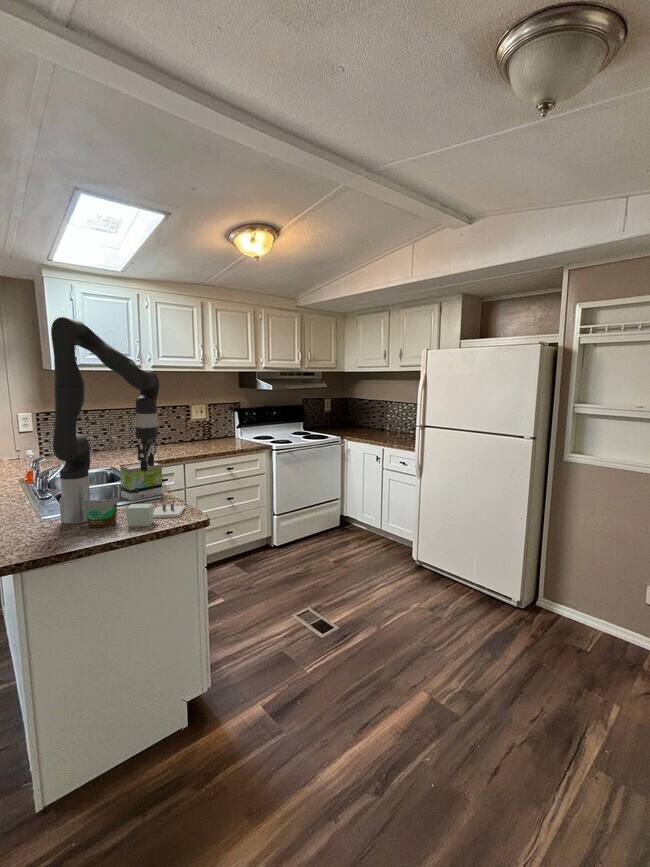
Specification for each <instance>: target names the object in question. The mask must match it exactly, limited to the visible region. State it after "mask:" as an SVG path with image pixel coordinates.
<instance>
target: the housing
mask: <svg viewBox="0 0 650 867" xmlns="http://www.w3.org/2000/svg"><path fill="white" fill-rule="evenodd" d="M125 510H126V523H127V524H126V525H127V527H129V528H130V527H131V528H132V527H149V526H150V527H151V525H153V523H154V522H155V518H154V512H153V511H154V503H131V504H130V505H129V506H127V507H126V509H125Z"/></svg>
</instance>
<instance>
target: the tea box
mask: <svg viewBox="0 0 650 867" xmlns="http://www.w3.org/2000/svg"><path fill="white" fill-rule="evenodd" d="M147 463H148V461H147ZM162 465H163V464H161V463H157V462H154V466H148V470H147V471H141V462H140V463H134V464H127V465H122V466H120V467H119V468H120V493H121V494H120V495H121V498H123V499H125V500H128V501H130V500H134V501H137V500H141V499H147V498H151V497H155V496H154V495H156V496H161V494H162V495H163V466H162ZM146 497H147V498H146Z"/></svg>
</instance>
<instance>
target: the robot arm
mask: <svg viewBox="0 0 650 867" xmlns="http://www.w3.org/2000/svg"><path fill="white" fill-rule="evenodd" d="M50 332H51V333H50V334H51V335H50V336H51V343H52V350H53V362H54V402H55V403H54V404H55V405H54V407H55V408H54V409H55V410H54V415H55V416H54V429H53V430H54V431H53V440H52V450H53V454H54V456H55V457H56V458H57V459H58V460H59V461H62V462H65V463H64V465H63V466H62V468H61V469H60V470H59V481H60V493H61V494H60V496H61V497H60V498H59V499H58V502H59V512H60V513H59V514H60V523H61V524H65V525H78V524H83V523H84V524H85V523H86V522H87V517H86V511H85V507H83V506H82V504H83V500H85V501H91V493H90V491H91V490H90V479H89V478H90V477H89V470H90V468H91V467H90V466H91V447H90V441H89V440H88V439H87V437H86V436H85V435H84V434H81V433H77V422H78V419H79V416H80V414H81V411H82V409H83V406H84V403H85V391H86V390H85V381H84V377H83V374H82V372H81V370H80V368H79V366H78V364H77V359H76V346H77V347H80V348H83V349H84V350H87V351H89V352H91V353H92V354H93V355H94V356H95V357H96V358H98V360H99V361H100V362H101V363H102V364H103V365H104V366H106V367H107V368H108V369H110V371H112V372H114V373H116V374H117V375H119V376H120V377H122V378H123V379H124V381H126V382H127V383H128V384H129V385H130V386H132V387H133V388H135V389H137V390H138V391H140V393H139V396H138V397H137V398H136V400H135V417H134V418H135V419H134V420H135V421H134V423H135V425H134V426H135V428H134V429H135V438H136V439H137V440H141V441H140V443H137V461H139V462H140V463H141V471H147V470H148V466H154V463H155V456H156V453H157V448H156V447H157V446H156V440H157V438H158V437H159V431H158V429H159V428H158V424H159V423H158V414H157V413H158V411H157V400H158V395H159V390H160V379H159V377H158V374H157V373H156V372H154V371H151V370H143V369H142V368H140V367H139V366H137V364H136V362H135V361H134V360H132V359H131V358H130V357H128V356H127V355H125V354H123V353H122V352H121V351H119V350H117V349H116V348H114V347H113V346H111V345H110V344H109V343H107V342H106V341H104V340H103V339H102V338H101V337H99V335H97V334H96V333H95V332H94V331H93V330H92V329H91V328H90V327H89V326H88V325H86V324H85V323H84V322H83V321H81V320H79V319H78V320H77V319H74V318H69V317H66V316H65V317H64V316H63V317H62V316H61V317H59V316H58V317H57V318H56V319H54V320H53V322H52V325H51V329H50ZM147 462H148V463H147ZM87 523H88V522H87Z"/></svg>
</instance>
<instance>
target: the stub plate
mask: <svg viewBox="0 0 650 867" xmlns="http://www.w3.org/2000/svg"><path fill="white" fill-rule="evenodd" d="M185 510H186V505H175V503H170V505H166V503H162V505H161V506H160V505H157V507H156V508H155V509H153V512H154V519H155V518H156V519H158V518H160V519H161V518H180V517H181V515H182V514H183V512H184V511H185Z"/></svg>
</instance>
